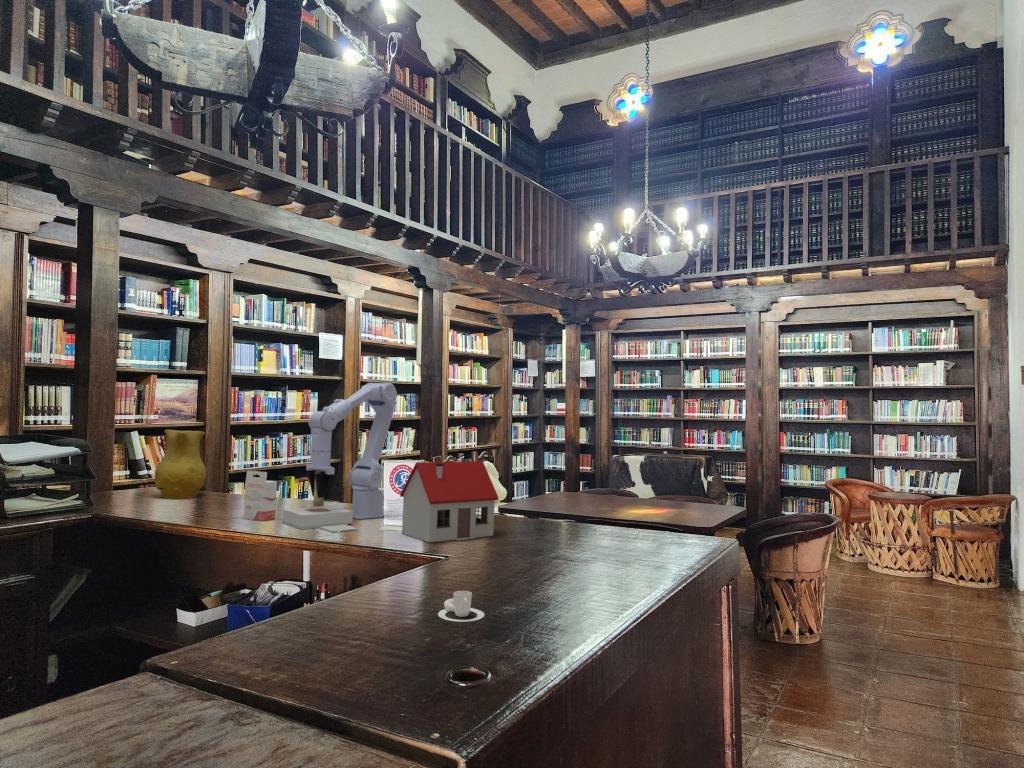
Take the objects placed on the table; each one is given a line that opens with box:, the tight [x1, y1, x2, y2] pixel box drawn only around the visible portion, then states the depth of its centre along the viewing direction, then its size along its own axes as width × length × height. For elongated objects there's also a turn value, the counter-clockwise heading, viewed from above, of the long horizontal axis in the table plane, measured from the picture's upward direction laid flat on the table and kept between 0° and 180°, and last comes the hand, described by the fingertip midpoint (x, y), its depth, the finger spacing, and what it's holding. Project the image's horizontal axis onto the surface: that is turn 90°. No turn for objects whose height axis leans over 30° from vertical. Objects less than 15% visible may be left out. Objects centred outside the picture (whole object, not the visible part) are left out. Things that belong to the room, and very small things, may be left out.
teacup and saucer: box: [437, 590, 485, 623], centre depth 113 cm, size 9×8×4 cm
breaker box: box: [281, 505, 353, 530], centre depth 196 cm, size 16×13×4 cm
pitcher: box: [153, 429, 207, 500], centre depth 244 cm, size 17×19×25 cm
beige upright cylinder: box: [312, 472, 325, 507], centre depth 196 cm, size 3×3×10 cm
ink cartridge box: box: [243, 470, 278, 522], centre depth 201 cm, size 9×5×15 cm, turn 68°
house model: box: [399, 460, 499, 543], centre depth 186 cm, size 25×20×21 cm
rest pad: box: [320, 524, 359, 533], centre depth 188 cm, size 8×8×1 cm
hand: (318, 496), depth 196 cm, fingers closed on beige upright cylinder, 3 cm apart
